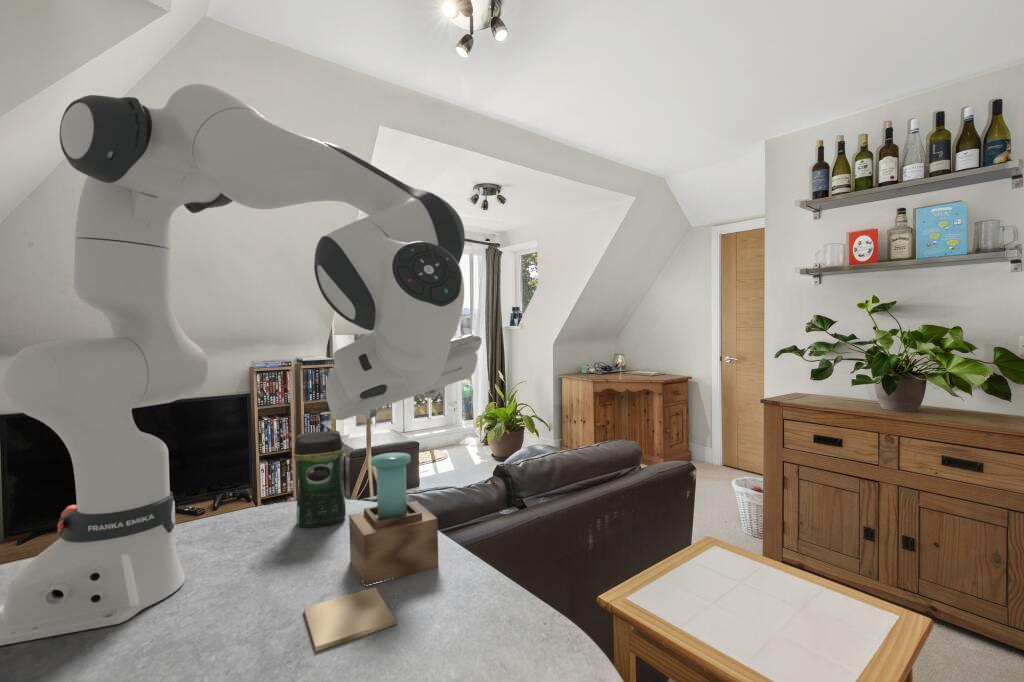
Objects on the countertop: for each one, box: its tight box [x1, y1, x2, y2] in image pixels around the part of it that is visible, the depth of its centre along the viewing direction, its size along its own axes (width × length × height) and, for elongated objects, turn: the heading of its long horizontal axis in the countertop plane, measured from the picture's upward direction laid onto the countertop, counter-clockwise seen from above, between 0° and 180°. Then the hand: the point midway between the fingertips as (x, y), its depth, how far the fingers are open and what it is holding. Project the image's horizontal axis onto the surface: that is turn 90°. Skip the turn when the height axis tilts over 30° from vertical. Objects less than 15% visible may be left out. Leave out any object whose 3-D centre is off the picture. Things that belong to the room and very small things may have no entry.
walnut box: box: [348, 499, 439, 587], centre depth 82 cm, size 12×10×9 cm
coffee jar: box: [293, 430, 347, 528], centre depth 101 cm, size 10×8×19 cm
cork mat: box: [303, 586, 397, 652], centre depth 66 cm, size 10×10×1 cm
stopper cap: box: [370, 452, 411, 521], centre depth 81 cm, size 6×6×10 cm
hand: (400, 403), depth 71 cm, fingers open, 8 cm apart
